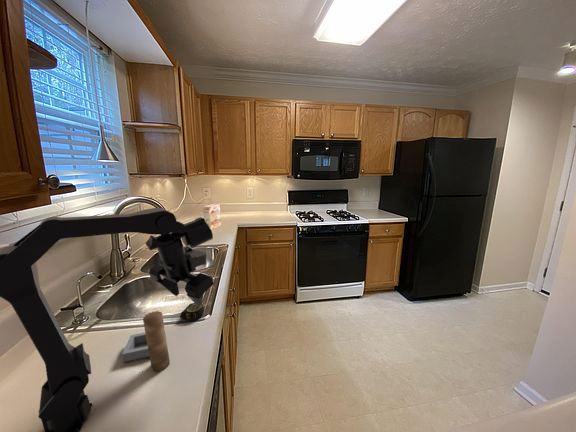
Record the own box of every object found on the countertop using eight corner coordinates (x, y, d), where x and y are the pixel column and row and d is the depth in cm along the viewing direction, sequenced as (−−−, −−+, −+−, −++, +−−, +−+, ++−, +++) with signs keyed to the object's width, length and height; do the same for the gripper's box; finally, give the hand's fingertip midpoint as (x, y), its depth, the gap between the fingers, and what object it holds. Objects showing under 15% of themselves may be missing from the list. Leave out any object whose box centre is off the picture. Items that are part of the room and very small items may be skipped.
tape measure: (191, 309, 91) (190, 300, 90) (208, 311, 90) (207, 302, 89) (180, 321, 85) (179, 311, 84) (198, 323, 83) (197, 313, 83)
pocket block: (123, 363, 67) (121, 354, 66) (132, 343, 74) (130, 335, 74) (155, 356, 69) (154, 347, 68) (161, 337, 77) (159, 329, 76)
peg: (150, 373, 63) (140, 323, 60) (153, 361, 67) (145, 313, 64) (168, 369, 65) (160, 319, 61) (170, 357, 69) (163, 310, 65)
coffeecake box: (211, 229, 203) (208, 206, 199) (204, 229, 206) (201, 206, 202) (221, 225, 217) (220, 203, 213) (215, 224, 220) (213, 203, 215)
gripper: (222, 246, 64) (232, 291, 71) (174, 233, 72) (187, 273, 79) (189, 272, 55) (204, 319, 62) (139, 253, 63) (157, 297, 70)
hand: (188, 300), depth 69 cm, fingers open, 9 cm apart
